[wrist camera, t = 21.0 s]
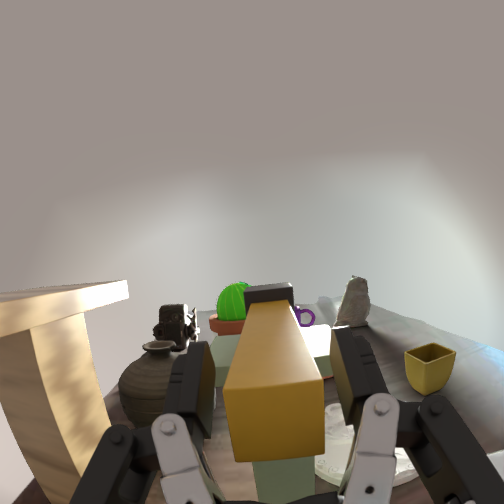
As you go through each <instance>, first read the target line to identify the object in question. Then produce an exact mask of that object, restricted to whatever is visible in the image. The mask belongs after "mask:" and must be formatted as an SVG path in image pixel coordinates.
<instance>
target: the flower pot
mask: <svg viewBox="0 0 504 504" xmlns="http://www.w3.org/2000/svg"><path fill="white" fill-rule="evenodd" d="M404 356H405V368H406V375H407V378H408V380H409V382H410V384H411V386H412V387H413V389H415V390H416V391H418V392H419V393H421V394H422V395H424V396H425V395H428V394H430V393H433V392H435V391H438V390H440V389H442V387H443V386H444V385H445V384H446V382H447V381H448V379H449V377H450V375H451V373H452V369H453V365H454V361H455V356H456V352H455V351H454V350H451V349H449V348H446V347H444V346H442V345H439V344H437V343H430V344H427V345H424V346H421V347H418V348H414V349H411V350H408V351H405V352H404Z"/></svg>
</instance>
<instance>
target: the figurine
mask: <svg viewBox="0 0 504 504" xmlns="http://www.w3.org/2000/svg"><path fill="white" fill-rule="evenodd" d="M369 310H370V299H369V296H368V287H367V280H365V279H363V278H360V277H356V276H352V279H351V280H350V281H349V282H348V283H347V284H346V290H345V293H344V296H343V299H342V301H341V304H340V307H339V309H338V313H337V318H336V320H337V321H336V322H335V323H334V324H333V327H335V328H337V327H343V326H349V327H359V326H366V325H368V322H367V321H365V319H366V317H367V316H368V314H369Z"/></svg>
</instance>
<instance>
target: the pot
mask: <svg viewBox="0 0 504 504" xmlns="http://www.w3.org/2000/svg"><path fill="white" fill-rule="evenodd" d="M175 346H176V343H175V342H173V341H152V342H149V343H147V344H144V345H143V346H142V347H143V349H144V350H145V351H148V352H149V353H150V355H147V356H144V357H141V358H139V359H138V360H136V361H134V362H132V363H131V364H130V365H129V366H128V367H127V368H126V369H125V371H124V372H123V373H122V375H121V377H120V379H119V382H118V387H119V395H120V401H121V404H122V407H123V411H124V413H125V414H126V415H127V417H128V419H129V420H130V421H131V422H132V423H133V425H134V426H135V427H136V428H137V429H138V428H142V427H147V426H150V425H152V424H153V422H154V421H155V420H156V419H157V418H158V417H159V416H161V414H162V412H163V407H164V402H165V397H166V392H167V387H168V383H169V378H170V375H171V368H172V364H173V362H174V361H175V359H176V358H177V356H178V355H179V354H184V353H177V352H171V350H172V349H173V348H174V347H175ZM215 407H216V393H215V391H214V404H213V411H214V410H215Z"/></svg>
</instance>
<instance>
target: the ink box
mask: <svg viewBox="0 0 504 504" xmlns="http://www.w3.org/2000/svg"><path fill="white" fill-rule="evenodd" d="M487 456H488V458H489V459H490V461H491V462H492V464H493V465H494V467H495V468H496V470H497V471H498V473H499V475H500V476H501V478H502V479H503V481H504V450H500V451H496V452H493V453H489V454H487Z"/></svg>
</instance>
